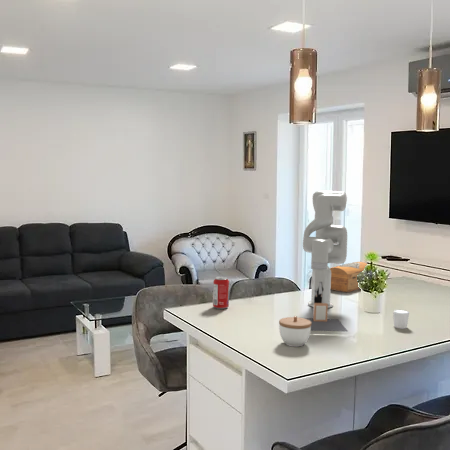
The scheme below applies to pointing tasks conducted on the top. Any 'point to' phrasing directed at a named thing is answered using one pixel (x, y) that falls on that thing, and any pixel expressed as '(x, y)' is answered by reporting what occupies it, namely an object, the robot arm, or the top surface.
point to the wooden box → (346, 276)
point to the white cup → (400, 318)
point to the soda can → (221, 293)
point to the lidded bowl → (294, 330)
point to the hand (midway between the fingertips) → (317, 305)
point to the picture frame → (320, 312)
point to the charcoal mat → (326, 325)
